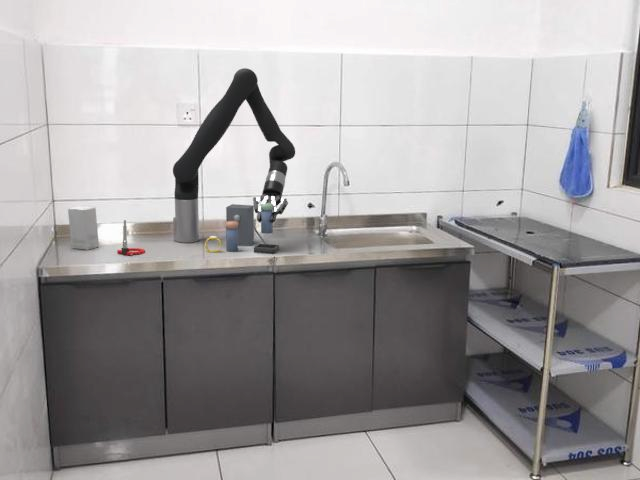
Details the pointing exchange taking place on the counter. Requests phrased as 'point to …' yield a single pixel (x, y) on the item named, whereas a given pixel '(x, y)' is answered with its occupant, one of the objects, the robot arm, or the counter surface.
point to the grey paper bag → (83, 227)
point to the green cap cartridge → (266, 218)
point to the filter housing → (242, 222)
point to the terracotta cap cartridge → (231, 236)
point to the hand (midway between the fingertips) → (265, 221)
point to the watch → (213, 238)
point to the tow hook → (126, 250)
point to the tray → (266, 248)
